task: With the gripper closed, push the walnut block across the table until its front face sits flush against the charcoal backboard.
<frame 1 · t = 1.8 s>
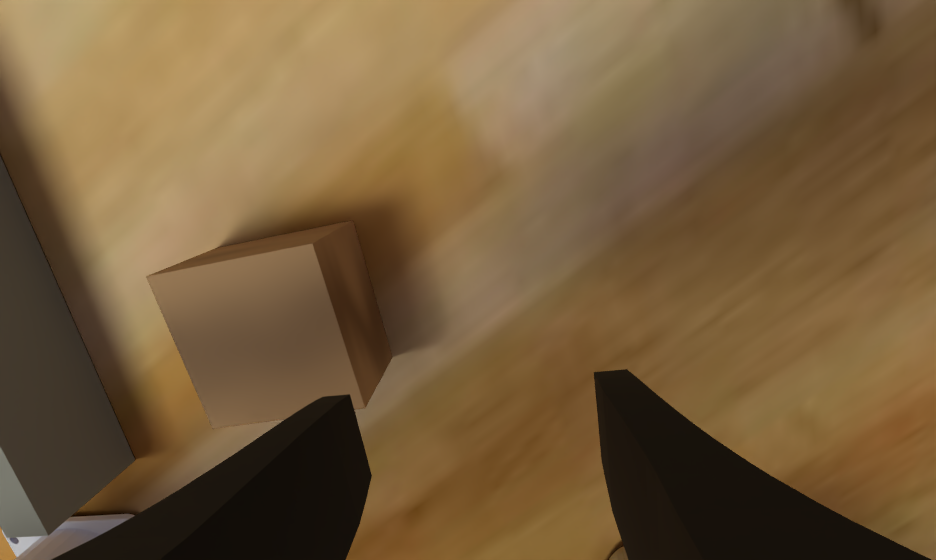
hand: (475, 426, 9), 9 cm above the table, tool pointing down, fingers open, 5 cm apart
backboard: (40, 292, 20), on the table
walnut block: (308, 302, 20), on the table
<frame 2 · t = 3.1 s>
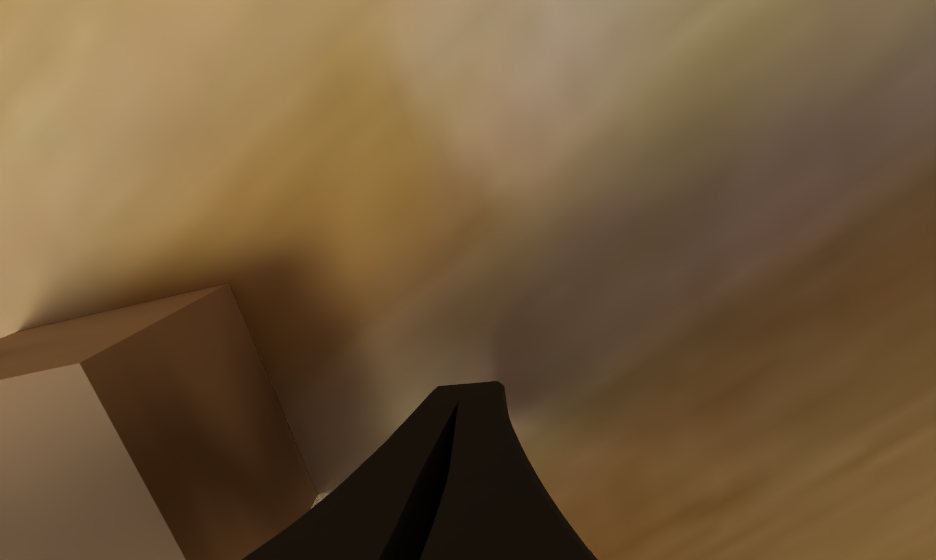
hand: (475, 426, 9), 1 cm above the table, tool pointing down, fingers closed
walnut block: (176, 411, 12), on the table
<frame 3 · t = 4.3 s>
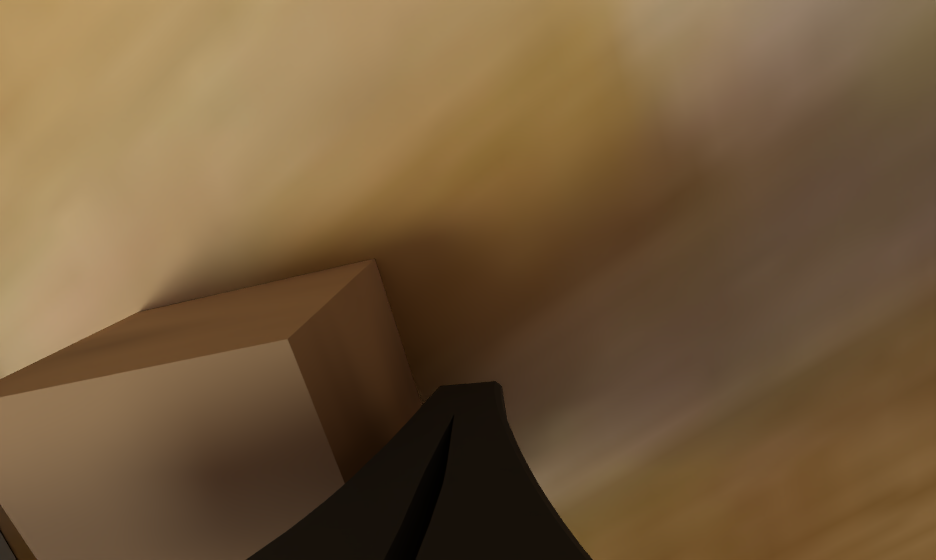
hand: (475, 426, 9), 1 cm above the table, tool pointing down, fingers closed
walnut block: (297, 400, 11), on the table, touching gripper
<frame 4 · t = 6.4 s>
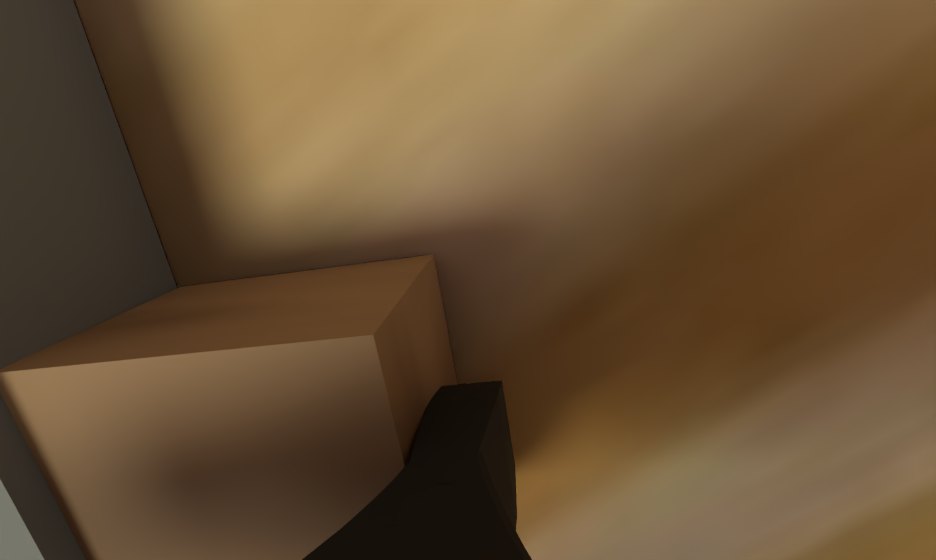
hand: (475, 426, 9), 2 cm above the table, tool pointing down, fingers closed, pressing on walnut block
backboard: (159, 347, 11), on the table
walnut block: (334, 391, 11), on the table, touching backboard, gripper
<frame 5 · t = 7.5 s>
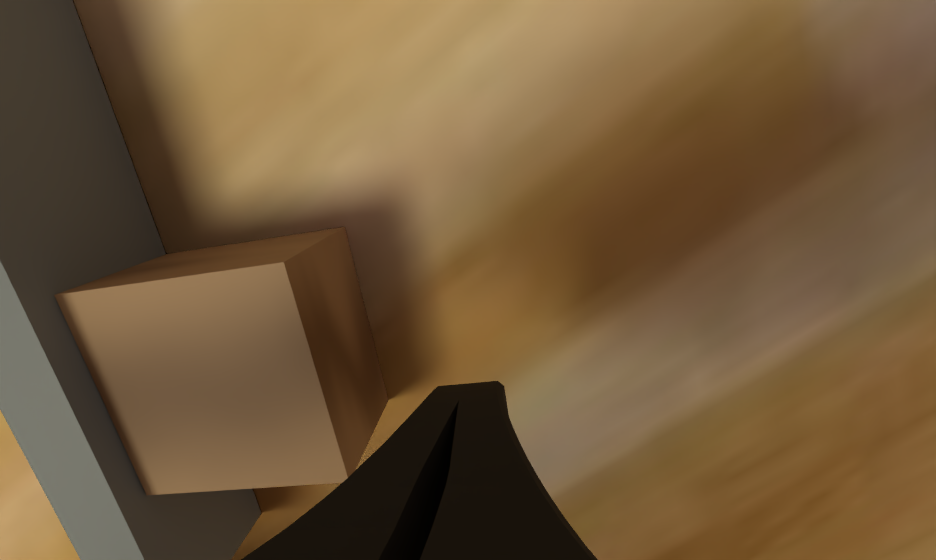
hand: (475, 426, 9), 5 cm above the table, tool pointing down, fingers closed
backboard: (154, 298, 15), on the table
walnut block: (283, 326, 15), on the table
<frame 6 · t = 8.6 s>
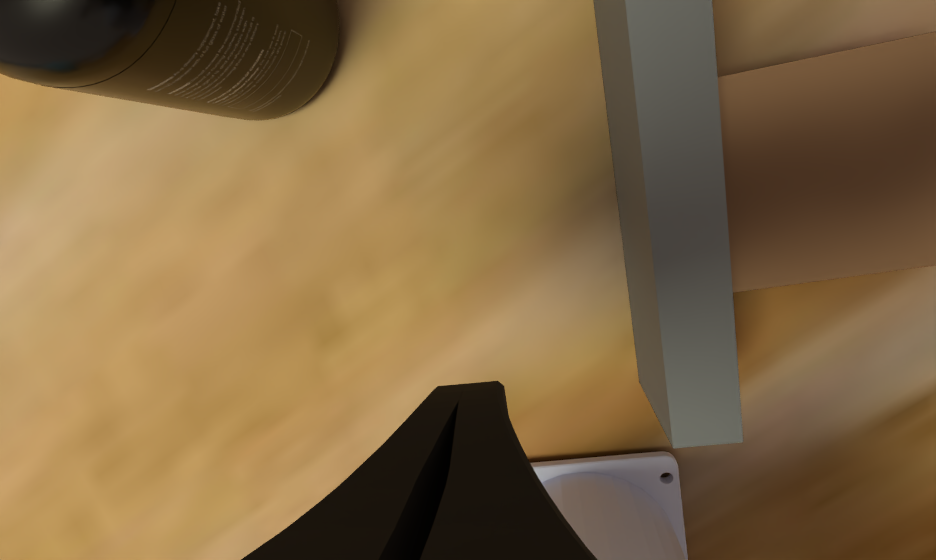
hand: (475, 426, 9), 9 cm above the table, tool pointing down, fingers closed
backboard: (640, 147, 16), on the table
supplement bottle: (259, 27, 17), on the table
walnut block: (763, 170, 16), on the table
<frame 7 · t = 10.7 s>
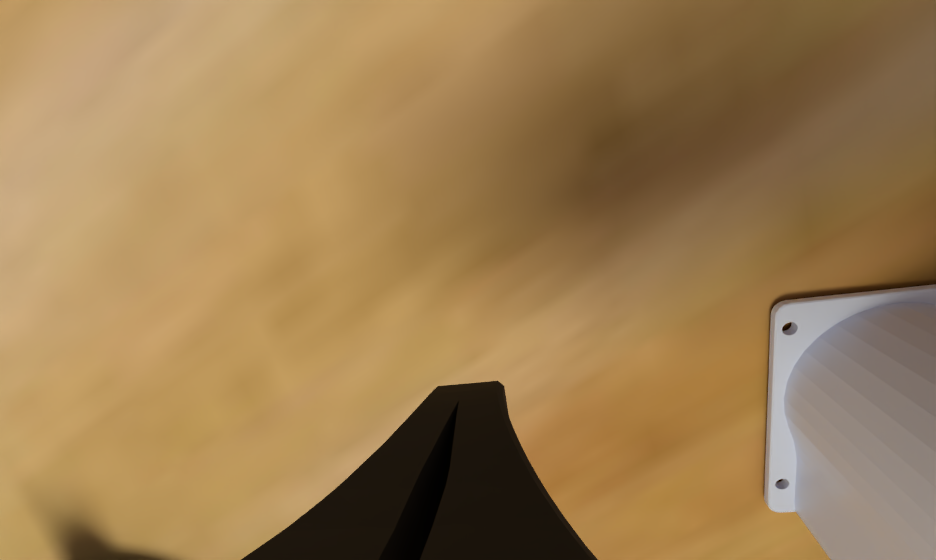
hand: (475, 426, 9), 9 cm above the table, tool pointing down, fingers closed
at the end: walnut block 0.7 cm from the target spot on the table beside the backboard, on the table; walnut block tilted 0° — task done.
